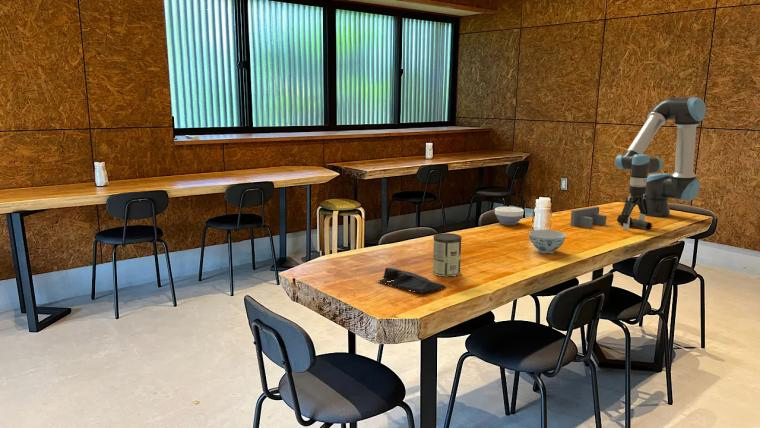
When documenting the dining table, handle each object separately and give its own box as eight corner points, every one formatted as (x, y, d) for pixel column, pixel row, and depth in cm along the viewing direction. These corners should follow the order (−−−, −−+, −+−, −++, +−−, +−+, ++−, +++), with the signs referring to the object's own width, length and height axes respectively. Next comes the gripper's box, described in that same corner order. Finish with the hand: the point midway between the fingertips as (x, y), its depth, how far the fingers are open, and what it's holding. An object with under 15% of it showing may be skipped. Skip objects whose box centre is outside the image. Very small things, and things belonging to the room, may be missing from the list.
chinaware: (549, 245, 244) (550, 228, 242) (572, 254, 230) (573, 236, 229) (520, 248, 239) (521, 231, 237) (542, 257, 225) (543, 239, 223)
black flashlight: (651, 230, 274) (652, 219, 273) (643, 231, 271) (644, 220, 270) (620, 223, 289) (621, 212, 288) (612, 224, 286) (613, 213, 285)
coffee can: (443, 267, 212) (444, 231, 209) (465, 272, 205) (467, 236, 202) (426, 273, 205) (427, 236, 202) (449, 279, 198) (451, 241, 195)
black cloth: (418, 299, 179) (418, 285, 178) (374, 282, 196) (374, 269, 195) (449, 289, 189) (450, 275, 188) (405, 273, 205) (405, 261, 204)
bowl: (528, 223, 286) (529, 209, 285) (513, 228, 276) (514, 213, 274) (503, 219, 296) (504, 205, 295) (488, 223, 286) (489, 209, 284)
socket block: (594, 221, 293) (596, 206, 291) (609, 224, 285) (611, 209, 284) (570, 225, 282) (571, 210, 280) (585, 229, 275) (586, 213, 273)
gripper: (630, 188, 262) (625, 232, 267) (659, 184, 276) (654, 226, 280) (616, 186, 269) (612, 229, 273) (645, 182, 282) (640, 223, 286)
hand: (633, 228), depth 277 cm, fingers open, 12 cm apart
